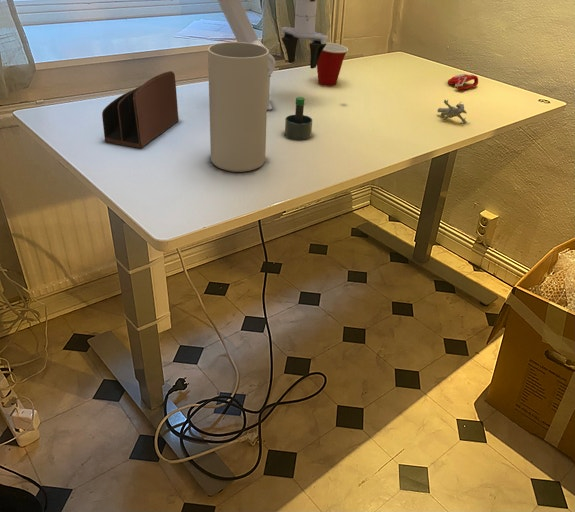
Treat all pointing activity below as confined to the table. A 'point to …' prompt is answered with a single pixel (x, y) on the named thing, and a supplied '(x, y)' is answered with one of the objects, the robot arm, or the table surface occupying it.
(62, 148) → the table surface
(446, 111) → the grey toy animal
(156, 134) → the letter holder
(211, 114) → the cylinder vase
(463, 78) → the keychain holder
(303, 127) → the tumbler
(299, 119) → the marker
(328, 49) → the plastic cup
